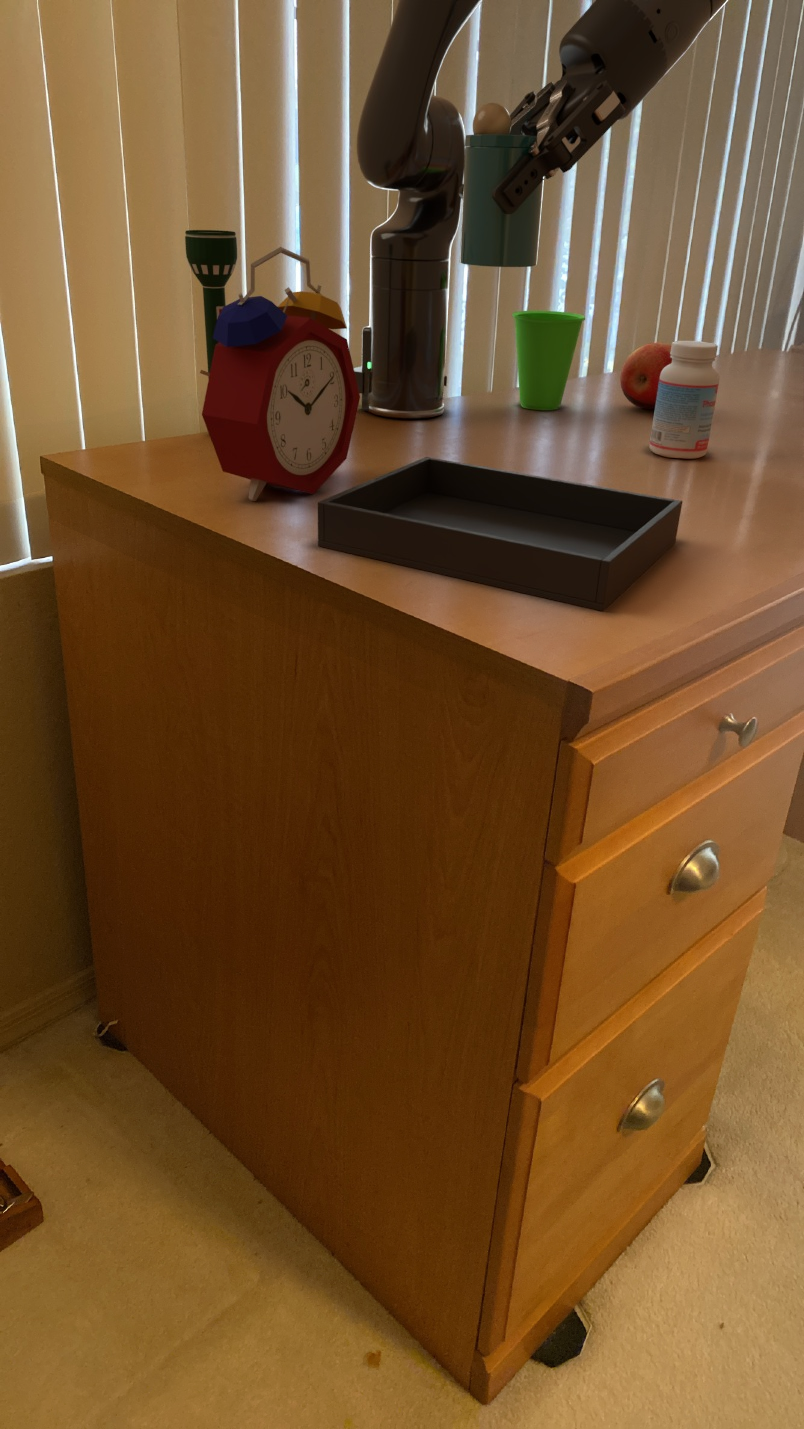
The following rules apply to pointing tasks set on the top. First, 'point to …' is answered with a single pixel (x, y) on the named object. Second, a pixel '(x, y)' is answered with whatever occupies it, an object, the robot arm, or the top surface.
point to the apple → (644, 373)
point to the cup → (544, 355)
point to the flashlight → (211, 273)
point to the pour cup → (483, 222)
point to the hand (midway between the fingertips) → (482, 203)
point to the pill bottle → (685, 401)
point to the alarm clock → (281, 388)
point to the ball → (492, 120)
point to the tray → (503, 529)
